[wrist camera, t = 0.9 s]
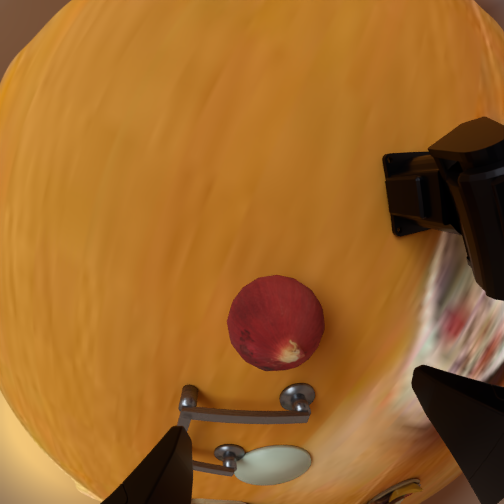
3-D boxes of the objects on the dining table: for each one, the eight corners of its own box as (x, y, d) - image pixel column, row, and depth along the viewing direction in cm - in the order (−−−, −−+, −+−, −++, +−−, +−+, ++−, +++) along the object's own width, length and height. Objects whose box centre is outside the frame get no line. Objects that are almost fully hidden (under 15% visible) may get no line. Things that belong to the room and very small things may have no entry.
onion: (275, 347, 21) (297, 417, 13) (212, 312, 20) (204, 378, 12) (320, 289, 20) (368, 339, 12) (257, 247, 19) (276, 281, 11)
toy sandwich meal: (399, 498, 33) (406, 511, 28) (349, 513, 32) (355, 529, 27) (428, 469, 31) (437, 483, 26) (376, 487, 29) (385, 505, 25)
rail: (310, 361, 21) (321, 383, 18) (318, 442, 24) (325, 462, 21) (139, 388, 21) (130, 411, 17) (184, 462, 23) (182, 483, 20)
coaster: (307, 437, 23) (309, 441, 23) (311, 472, 25) (312, 476, 25) (224, 452, 23) (224, 456, 22) (243, 485, 25) (243, 489, 24)
